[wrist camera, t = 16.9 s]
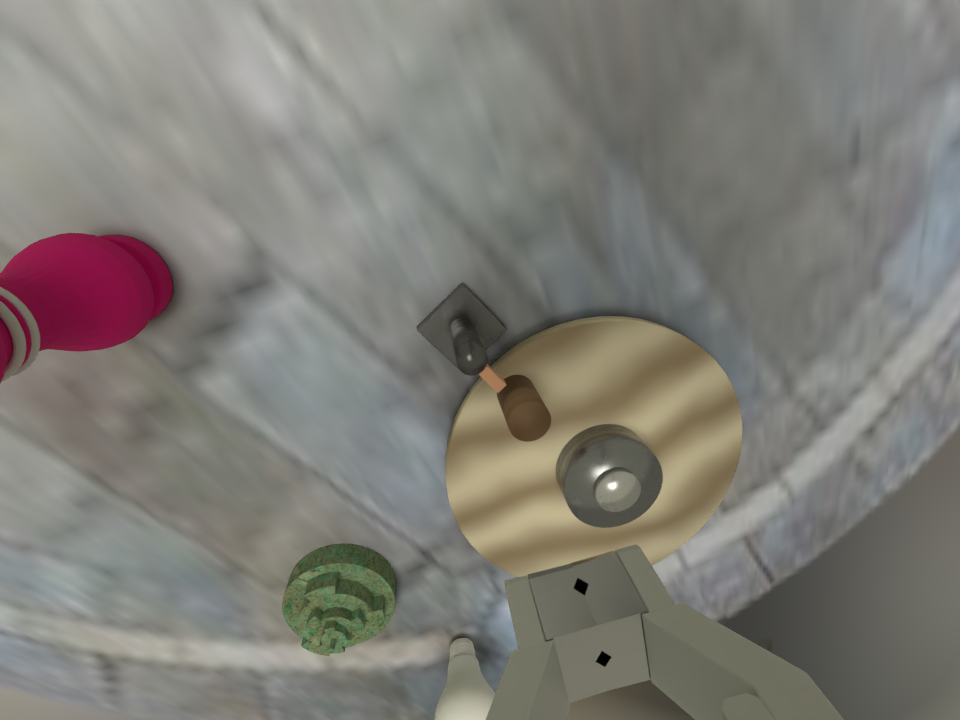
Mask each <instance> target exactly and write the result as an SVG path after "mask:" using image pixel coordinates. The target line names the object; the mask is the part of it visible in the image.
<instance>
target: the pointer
mask: <svg viewBox="0 0 960 720" xmlns="http://www.w3.org/2000/svg"><path fill="white" fill-rule="evenodd" d="M506 330H507V329H506V327H505V326H504V325H503V324H502V323H501V322H500V321H499V320H498V319H497V318H496V317H495V316H494V315H493V314H492V313H491V312H490V311H489V310H488V308H487V307H486V306H485V305H484V304H483V303H482V302H481V301H480V300H479V299H478V298H477V297H476V296H475V295H474V294H473V293H472V292H471V291H470V290H469V289H468V288H467V287H466V286H465V285H464V284H463V283H461V284H460V285H459V286H458V287H457V288H456V289H455V290H454V291H453V292H452V293H451V294H450V295H449V296H448V297H447V298H446V299H445V300H444V301H443V302H442V303H440V304H439V305H438V306H437V307H436V308H435V309H434V310H433V311H432V312H431V313H430V314H429V315H428V316H427V317H426V318H425V319H424V320H423V321H422V322H421V323H420V324H419V325H418V326H417V331H418V332H419V333H421V334H422V335H423V336H424V337H425V338H426V339H427V340H428V341H429V342H430V343H431V344H432V345H433V346H435V347H436V348H437V349H438V350H439V351H440V352H441V353H442V354H443V355H444V356H445V357H446V358H447V359H448V360H450V361H451V362H452V363H453V364H454V365H455V366H456V367H457V368H458V369H459V370H460V371H461V372H462V373H464V374H466V375H477V374H478V375H479V376H481V377H482V378H483V379H484V380H485V381H486V382H487V383H488V384H489V385H490V386H491V387H492V388H493V389H494V390H495V391H496V392H497V393H499V392H500V391H501V390H502V389H503V388H504V387H505V386H506V382H505V380H504V379H503V378H501V377H500V376H499V375H498V374H497V373H496V372H495V371H494V370H493V369H492V368H491V367H490V366H489V365H488V364H487V355H486V353H485V349H487V348H488V347H489V346H490V345H491V344H492V343H493V342H494V341H495V340H496V339H497V338H498V337H499V336H500V335H502V334H503V333H504V332H505V331H506Z"/></svg>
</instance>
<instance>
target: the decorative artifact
mask: <svg viewBox="0 0 960 720" xmlns="http://www.w3.org/2000/svg"><path fill="white" fill-rule="evenodd" d="M395 594H396V578H395V574H394V571H393V569H392V567H391V565H390V564H389V563H388V561H387V560H386V559H385V558H384V557H382V556H381V555H380V554H378V553H377V552H375V551H373V550H371V549H369V548H366V547H363V546H359V545H354V544H334V545H329V546H325V547H321V548H319V549H316V550H314V551H312V552H310V553H309V554H307V555H306V556H305V557H303V558H302V559H301V560H300V561H299V562H298V563H297V564H296V566H295V567H294V569H293V571H292V573H291V576H290V579H289V582H288V585H287V588H286V591H285V594H284V598H283V603H282V610H283V615H284V618H285V620H286V622H287V624H288V625H289V627H290V628H291V629H292V630H293V631H294V632H295V633H296V634H297V635H299V636H300V637H302V638H303V641H302V645H301V646H302V647H303V648H305V649H307V650H308V651H311V652H313V653H316V654H320V655H326V656H329V655H330V653H342V652H345V648H347V647H351V646H353V645H356V644H358V643H361V642H364V641H366V640H368V639H370V638H372V637H374V636H376V635H377V634H378V633H381V631H382V630H383V629H384V628H385V627H386V626H387V624H388V623H389V621H390V620H391V618H392V616H393V613H394V609H395Z"/></svg>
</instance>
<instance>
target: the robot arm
mask: <svg viewBox="0 0 960 720" xmlns="http://www.w3.org/2000/svg"><path fill="white" fill-rule="evenodd" d="M527 575H528V577H527ZM527 575H525V576H521V577H517V578H513V579H509V580H505V590H506V595H507V599H508V604H509V608H510V613H511V617H512V622H513V627H514V631H515V636H516V640H517V645H518V650H515V651H512V652H511V654H510V657H509V660H508V662H507V665H506V667H505V670H504V673H503V675H502V678H501V681H500V683H499V686H498V688H497V691H496V694H495V696H494V699H493V701H492V704H491V707H490V709H489V712H488V714H487V717H486V720H567V719H568V714H569V709H570V704H569V703H571V702H574V701H577V700H580V699H583V698H586V697H589V696H592V695H596V694H599V693H602V692H605V691H608V690H612V689H616V688H619V687H623V686H627V685H631V684H635V683H639V682H643V681H647V680H651V682H652V683H653V684H654V685H656V686H657V687H658V688H659V689H660V690H662V691H663V692H664V693H665V694H666V695H667V696H668V697H670V698H671V699H672V700H673V701H674V702H675V703H677V704H678V705H679V706H680V707H681V708H682V709H683V710H685V711H686V712H687V713H688V714H690V716H692V717H693V718H694V719H695V720H843V718H842V717H841V716H840V714H839V713H838V712H837V711H836V709H835V708H834V707H833V706H832V704H831V703H830V702H829V701H828V699H827V698H826V697H825V696H824V694H823V693H822V692H821V690H820V689H819V688H818V687H817V685H816V684H815V683H814V682H813V680H812V679H811V678H810V677H809V676H808V674H807V673H805V672H804V671H802V670H800V669H798V668H796V667H795V666H793V665H792V664H790V663H788V662H786V661H784V660H783V659H781V658H779V657H777V656H775V655H774V654H772V653H770V652H769V651H767V650H765V649H763V648H762V647H760V646H758V645H756V644H754V643H753V642H751V641H749V640H747V639H746V638H744V637H742V636H740V635H739V634H737V633H735V632H733V631H731V630H730V629H728V628H726V627H724V626H723V625H721V624H719V623H717V622H716V621H714V620H712V619H710V618H709V617H707V616H705V615H703V614H702V613H700V612H698V611H696V610H695V609H693V608H691V607H689V606H687V605H686V604H684V603H680V604H675V603H674V601H673V599H672V598H671V596H670V595H669V593H668V591H667V590H666V588H665V586H664V585H663V583H662V582H661V580H660V578H659V577H658V575H657V574H656V572H655V570H654V569H653V567H652V565H651V564H650V562H649V561H648V559H647V557H646V556H645V554H644V553H643V551H642V549H641V548H640V547H639V546H638V545H637V544H635V545H631V546H628V547H624V548H621V549H617V550H614V551H610V552H607V553H603V554H600V555H596V556H593V557H590V558H586V559H583V560H579V561H576V562H573V563H570V564H567V565H563V566H559V567H555V568H551V569H547V570H543V571H539V572H535V573H531V574H527Z"/></svg>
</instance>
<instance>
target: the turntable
mask: <svg viewBox="0 0 960 720" xmlns="http://www.w3.org/2000/svg"><path fill="white" fill-rule="evenodd" d="M490 367H491V368H492V369H493V370H494V371H495V372H496V373H497V374H498V375H499V376H500V377H501V378H503V379H504V380H505V382H506V386H505V387H504V388H503V389H502V390H501V391H500V392H499V393H497V392H496V391H495V390H494V389H493V388H492V387H491V386H490V385H489V384H488V383H487V382H486V381H485V380H484V379H483V378H482V377H480V378H479V379H478V380H477V382H476V383H475V384H474V385H473V386H472V388H471V389H470V391H469V393H468V394H467V396H466V397H465V399H464V400H463V402H462V404H461V406H460V408H459V410H458V412H457V414H456V417H455V419H454V421H453V424H452V427H451V431H450V434H449V437H448V442H447V449H446V455H445V475H446V485H447V491H448V498H449V502H450V506H451V509H452V512H453V515H454V518H455V520H456V522H457V523H458V525H459V527H460V529H461V531H462V533H463V534H464V535H465V537H466V538H467V540H468V541H469V542H470V544H471V545H472V546H473V547H474V548H475V549H476V550H477V551H478V552H479V553H480V554H481V555H482V556H483V557H485V558H486V559H487V560H489V561H490V562H491V563H493V564H494V565H495V566H497V567H499V568H501V569H503V570H504V571H506V572H508V573H510V574H513V575H515V576H518V577H521V576H525V575H527V574H531V573H535V572H539V571H543V570H547V569H551V568H555V567H559V566H563V565H567V564H570V563H573V562H576V561H579V560H583V559H586V558H590V557H593V556H596V555H600V554H603V553H607V552H610V551H614V550H617V549H621V548H624V547H628V546H631V545H635V544H637V545H638V546H639V547H640V548H641V549H642V551H643V553H644V554H645V556H646V557H647V559H648V561H649V562H650V564H651V565H653V564H655V563H657V562H659V561H660V560H662V559H663V558H665V557H667V556H668V555H670V554H671V553H673V552H674V551H676V550H677V549H678V548H679V547H681V546H682V545H683V544H685V543H686V542H687V541H688V540H689V539H690V538H691V537H692V536H693V535H695V534H696V533H697V532H698V531H699V530H700V529H701V528H702V526H703V525H704V524H705V523H706V522H707V521H708V519H709V518H710V517H711V516H712V515H713V513H714V512H715V510H716V509H717V507H718V506H719V504H720V503H721V501H722V500H723V498H724V496H725V494H726V492H727V490H728V488H729V487H730V484H731V482H732V479H733V477H734V474H735V472H736V469H737V465H738V461H739V457H740V453H741V444H742V418H741V412H740V407H739V402H738V399H737V397H736V394H735V391H734V388H733V386H732V384H731V382H730V381H729V379H728V377H727V375H726V373H725V372H724V371H723V369H722V368H721V367H720V366H719V364H718V363H717V362H716V360H715V359H714V358H713V357H712V356H711V355H709V354H708V353H707V352H706V351H705V350H704V349H703V348H702V347H700V346H699V345H697V344H696V343H694V342H693V341H691V340H690V339H688V338H686V337H685V336H683V335H681V334H680V333H678V332H676V331H674V330H672V329H670V328H667V327H665V326H663V325H661V324H658V323H654V322H651V321H647V320H644V319H640V318H632V317H624V316H597V317H590V318H583V319H577V320H573V321H570V322H566V323H562V324H558V325H556V326H553V327H551V328H548V329H546V330H543V331H541V332H539V333H537V334H535V335H533V336H531V337H529V338H528V339H526V340H524V341H522V342H520V343H519V344H517V345H516V346H514V347H513V348H512V349H510V350H509V351H508V352H506V353H505V354H503V355H502V356H501V357H500V358H499V359H498V360H497V361H495V362H494V363H493V364H492V365H491V366H490ZM602 424H615V425H620V426H623V427H626V428H628V429H630V430H632V431H633V432H634V433H635V434H636V435H637V436H638V437H639V438H640V439H641V440H642V441H643V442H644V444H645V445H646V446H647V447H648V448H649V449H650V450H651V452H652V453H653V454H654V455H655V456H656V458H657V459H658V461H659V463H660V465H661V468H662V473H663V482H662V487H661V490H660V493H659V495H658V497H657V499H656V500H655V502H654V503H653V505H652V506H651V507H650V508H649V509H648V510H647V511H646V512H645V513H644V514H642V515H641V516H640V517H638V518H637V519H635V520H633V521H631V522H629V523H627V524H624V525H621V526H617V527H611V528H600V527H594V526H590V525H587V524H585V523H583V522H582V521H580V520H579V519H578V518H576V517H575V516H574V514H573V513H572V512H571V510H570V508H569V507H568V504H567V502H566V500H565V498H564V496H563V494H562V492H561V490H560V487H559V485H558V483H557V480H556V471H555V470H556V463H557V459H558V457H559V454H560V452H561V451H562V449H563V448H564V446H565V445H566V444H567V443H568V442H569V440H570V439H572V438H573V437H574V436H575V435H577V434H578V433H580V432H581V431H583V430H585V429H587V428H590V427H593V426H597V425H602ZM527 577H528V575H527Z"/></svg>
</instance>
